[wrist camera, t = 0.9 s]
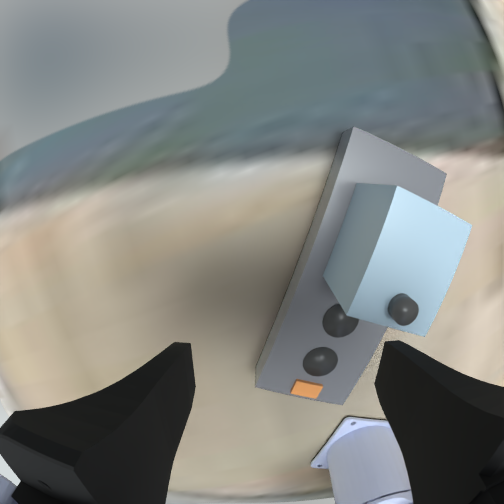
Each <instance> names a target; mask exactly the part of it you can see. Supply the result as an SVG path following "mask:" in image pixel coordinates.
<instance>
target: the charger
mask: <svg viewBox="0 0 504 504" xmlns="http://www.w3.org/2000/svg"><path fill="white" fill-rule="evenodd" d="M471 227H472V225H471V224H469V223H467V222H466V221H464V220H462V219H460V218H459V217H457V216H455V215H453V214H451V213H450V212H448V211H446V210H444V209H442V208H441V207H439V206H437V205H435V204H433V203H431V202H429V201H427V200H425V199H423V198H421V197H419V196H417V195H415V194H413V193H411V192H409V191H407V190H405V189H403V188H401V187H399V186H396V185H382V184H366V183H357V184H356V187H355V190H354V193H353V196H352V199H351V201H350V204H349V207H348V210H347V213H346V216H345V218H344V221H343V224H342V227H341V229H340V232H339V235H338V238H337V240H336V243H335V245H334V248H333V251H332V253H331V256H330V258H329V261H328V264H327V266H326V269H325V271H324V274H323V277H324V279H325V280H326V282H327V284H328V285H329V287H330V289H331V290H332V292H333V294H334V295H335V297H336V299H337V300H338V302H339V304H340V305H341V307H342V309H343V310H344V312H345V314H346V315H347V316H351V317H354V318H358V319H361V320H365V321H368V322H372V323H375V324H379V325H383V326H386V327H390V328H394V329H397V330H401V331H405V332H408V333H412V334H416V335H420V336H424V337H425V335H426V334H427V332H428V330H429V328H430V326H431V324H432V322H433V320H434V318H435V316H436V314H437V312H438V310H439V308H440V306H441V303H442V301H443V299H444V297H445V295H446V292H447V290H448V288H449V286H450V283H451V281H452V279H453V276H454V274H455V271H456V269H457V266H458V264H459V261H460V258H461V256H462V253H463V250H464V248H465V245H466V242H467V239H468V236H469V233H470V230H471Z"/></svg>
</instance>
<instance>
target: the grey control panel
mask: <svg viewBox="0 0 504 504" xmlns="http://www.w3.org/2000/svg"><path fill="white" fill-rule="evenodd" d="M446 175H447V174H446V173H445V172H443V171H441V170H439V169H438V168H436V167H434V166H432V165H431V164H429V163H427V162H425V161H424V160H422V159H420V158H418V157H416V156H414V155H412V154H411V153H409V152H407V151H405V150H403V149H401V148H399V147H397V146H395V145H393V144H391V143H389V142H387V141H385V140H383V139H380V138H378V137H376V136H374V135H372V134H370V133H367V132H365V131H363V130H361V129H358V128H356V127H352V128H350V129H348V130H346V131H345V132H343V133H342V136H341V139H340V142H339V145H338V149H337V152H336V155H335V158H334V161H333V164H332V167H331V170H330V173H329V176H328V179H327V182H326V185H325V188H324V191H323V194H322V196H321V199H320V202H319V205H318V208H317V211H316V214H315V216H314V219H313V222H312V225H311V228H310V230H309V233H308V236H307V239H306V241H305V244H304V247H303V249H302V252H301V255H300V258H299V260H298V263H297V266H296V268H295V271H294V273H293V276H292V279H291V281H290V284H289V286H288V289H287V292H286V294H285V297H284V299H283V302H282V304H281V307H280V309H279V312H278V314H277V317H276V319H275V322H274V324H273V327H272V329H271V332H270V334H269V337H268V339H267V341H266V344H265V346H264V349H263V351H262V353H261V356H260V358H259V361H258V363H257V365H256V372H255V387H257V388H261V389H265V390H269V391H273V392H278V393H282V394H286V395H291V396H296V397H300V398H305V399H310V400H316V401H321V402H327V403H332V404H338V405H343V404H344V402H345V401H346V399H347V398H348V396H349V394H350V393H351V391H352V390H353V388H354V386H355V385H356V383H357V381H358V380H359V378H360V376H361V375H362V373H363V371H364V370H365V368H366V366H367V364H368V363H369V361H370V359H371V357H372V356H373V354H374V352H375V350H376V348H377V347H378V345H379V343H380V341H381V339H382V337H383V335H384V333H385V331H386V329H387V327H386V326H383V325H379V324H375V323H372V322H368V321H365V320H361V319H358V318H354V317H351V316H347V315H346V314H345V312H344V310H343V309H342V307H341V305H340V304H339V302H338V300H337V299H336V297H335V295H334V294H333V292H332V290H331V289H330V287H329V285H328V284H327V282H326V280H325V279H324V277H323V274H324V271H325V269H326V266H327V264H328V261H329V258H330V256H331V253H332V251H333V248H334V245H335V243H336V240H337V238H338V235H339V232H340V229H341V227H342V224H343V221H344V218H345V216H346V213H347V210H348V207H349V204H350V201H351V199H352V196H353V193H354V190H355V187H356V184H357V183H366V184H382V185H396V186H399V187H401V188H403V189H405V190H407V191H409V192H411V193H413V194H415V195H417V196H419V197H421V198H423V199H425V200H427V201H429V202H431V203H433V204H435V205H438V202H439V199H440V196H441V192H442V189H443V185H444V182H445V178H446Z"/></svg>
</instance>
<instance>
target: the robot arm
mask: <svg viewBox="0 0 504 504" xmlns="http://www.w3.org/2000/svg"><path fill="white" fill-rule="evenodd" d="M195 387H196V386H195V377H194V369H193V360H192V351H191V343H179V342H174V343H173V344H171V345H170V346H169V347H167V348H166V349H165V350H163V351H162V352H161V353H159V354H158V355H157V356H155V357H154V358H153V359H151V360H150V361H149V362H147V363H146V364H145V365H143V366H142V367H140V368H139V369H137V370H136V371H134V372H133V373H131V374H129V375H128V376H126V377H125V378H123V379H122V380H120V381H118V382H116V383H114V384H112V385H111V386H108V387H106V388H104V389H102V390H100V391H98V392H96V393H93V394H90V395H88V396H85V397H82V398H80V399H77V400H74V401H71V402H67V403H64V404H60V405H55V406H51V407H46V408H40V409H32V410H23V411H15V412H14V413H13V414H12V415H11V416H10V417H9V418H8V420H7V421H6V422H5V423H4V424H3V425H2V426H1V428H0V454H1V456H2V457H3V458H4V460H5V461H6V463H7V464H8V465H9V466H10V468H11V469H12V470H13V472H14V473H15V474H16V475H17V477H18V478H19V479H20V480H21V482H20V483H19V485H18V486H16V485H15V484H13V483H12V482H11V481H10V480H8V479H7V478H5V477H4V476H2V475H1V474H0V504H165V502H166V497H167V491H168V485H169V480H170V475H171V470H172V465H173V461H174V458H175V454H176V451H177V448H178V446H179V443H180V440H181V437H182V434H183V431H184V429H185V426H186V423H187V420H188V417H189V414H190V411H191V408H192V403H193V398H194V393H195ZM375 388H376V391H377V395H378V398H379V402H380V405H381V407H382V409H383V412H384V414H385V416H386V418H387V420H388V421H385V420H374V419H364V418H356V417H347V418H345V419H344V420H343V421H342V423H341V424H340V425H339V427H338V428H337V430H336V431H335V432H334V434H333V435H332V436H331V438H330V439H329V440H328V442H327V443H326V444H325V446H324V447H323V448H322V449H321V451H320V452H319V453H318V455H317V456H316V457H315V458H314V460H313V461H312V462H311V467H313V468H323V469H329V472H330V478H331V483H332V488H333V494H334V498H335V504H504V387H501V386H497V385H494V384H490V383H486V382H483V381H480V380H478V379H475V378H472V377H470V376H467V375H465V374H462V373H460V372H458V371H456V370H454V369H452V368H450V367H448V366H446V365H444V364H442V363H440V362H438V361H436V360H435V359H433V358H431V357H429V356H427V355H426V354H424V353H422V352H420V351H419V350H417V349H415V348H413V347H411V346H410V345H408V344H406V343H404V342H401V341H399V340H397V341H386V342H385V343H384V348H383V352H382V356H381V360H380V365H379V369H378V372H377V376H376V380H375ZM352 422H353V423H352Z"/></svg>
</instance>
